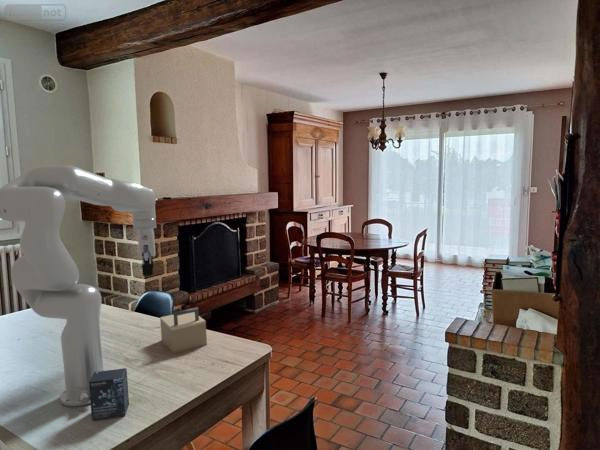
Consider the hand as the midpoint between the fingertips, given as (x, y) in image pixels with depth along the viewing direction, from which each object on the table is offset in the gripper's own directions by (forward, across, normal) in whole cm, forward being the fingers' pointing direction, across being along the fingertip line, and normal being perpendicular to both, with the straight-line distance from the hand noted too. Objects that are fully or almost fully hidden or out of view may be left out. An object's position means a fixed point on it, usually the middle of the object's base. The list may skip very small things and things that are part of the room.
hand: (148, 272), depth 142 cm
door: (+19, -2, -11) cm, 22 cm away
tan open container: (+27, -2, -10) cm, 29 cm away
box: (+27, -41, +10) cm, 50 cm away
